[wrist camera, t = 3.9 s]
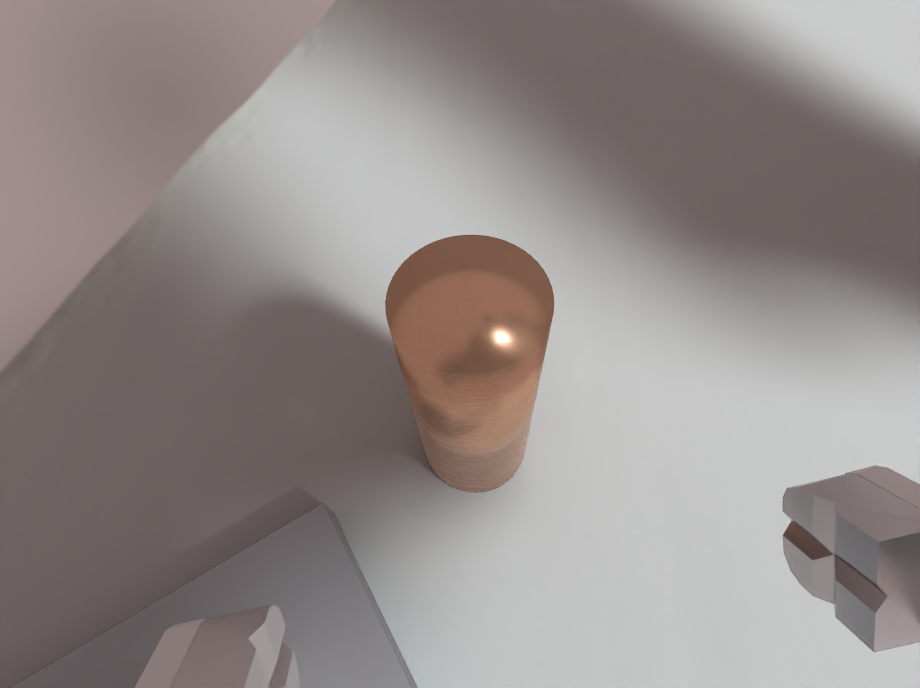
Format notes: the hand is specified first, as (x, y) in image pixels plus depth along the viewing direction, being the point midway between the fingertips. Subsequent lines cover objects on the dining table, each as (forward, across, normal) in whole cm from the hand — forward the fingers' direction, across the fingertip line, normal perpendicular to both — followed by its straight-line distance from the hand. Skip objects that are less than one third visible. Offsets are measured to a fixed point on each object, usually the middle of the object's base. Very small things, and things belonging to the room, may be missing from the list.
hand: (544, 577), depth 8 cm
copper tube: (+12, 0, +4) cm, 13 cm away
